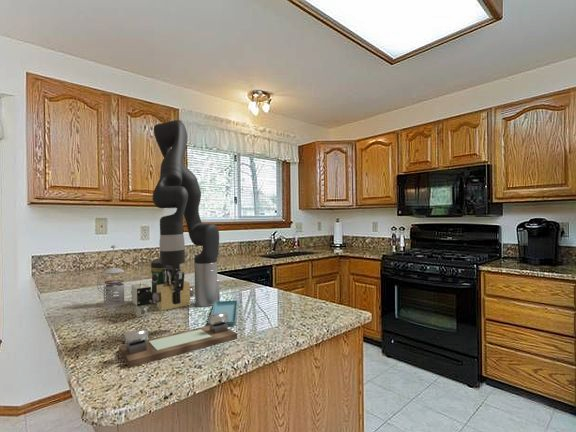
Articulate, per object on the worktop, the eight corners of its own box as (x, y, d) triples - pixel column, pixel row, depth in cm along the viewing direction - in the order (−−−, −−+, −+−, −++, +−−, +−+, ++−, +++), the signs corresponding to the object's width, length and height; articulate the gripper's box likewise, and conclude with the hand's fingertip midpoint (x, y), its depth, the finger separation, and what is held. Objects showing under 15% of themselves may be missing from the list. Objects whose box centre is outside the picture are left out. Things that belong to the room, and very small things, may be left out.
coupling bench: (219, 328, 105) (218, 307, 105) (237, 338, 96) (236, 316, 96) (119, 351, 87) (119, 327, 88) (129, 367, 78) (128, 340, 78)
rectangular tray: (236, 327, 107) (236, 319, 107) (207, 329, 106) (207, 321, 106) (238, 306, 133) (237, 300, 133) (215, 307, 132) (214, 301, 132)
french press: (119, 307, 133) (118, 245, 133) (91, 307, 133) (90, 246, 134) (131, 301, 143) (130, 244, 143) (105, 301, 143) (104, 244, 143)
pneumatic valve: (138, 320, 115) (138, 286, 115) (131, 313, 124) (130, 281, 124) (155, 317, 118) (154, 284, 118) (146, 310, 127) (146, 279, 127)
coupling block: (189, 301, 110) (188, 280, 109) (194, 303, 106) (194, 282, 106) (152, 308, 102) (151, 285, 102) (156, 311, 99) (155, 288, 99)
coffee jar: (177, 301, 141) (176, 258, 141) (160, 305, 135) (160, 260, 135) (164, 298, 147) (164, 257, 147) (148, 302, 141) (147, 258, 141)
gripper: (192, 249, 101) (194, 304, 101) (176, 246, 112) (177, 296, 112) (167, 251, 96) (169, 309, 96) (153, 248, 107) (154, 300, 107)
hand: (173, 301), depth 104 cm, fingers closed on coupling block, 4 cm apart
